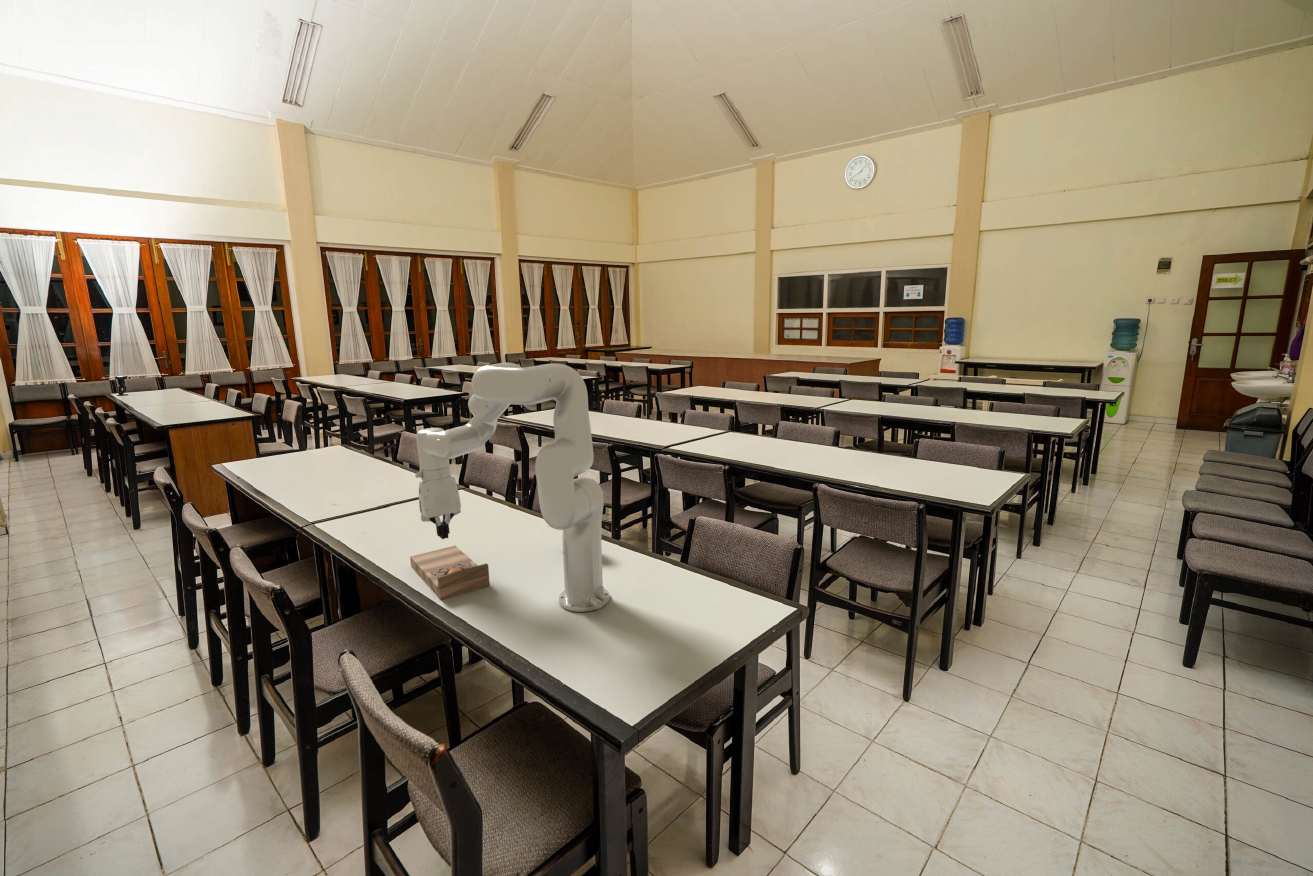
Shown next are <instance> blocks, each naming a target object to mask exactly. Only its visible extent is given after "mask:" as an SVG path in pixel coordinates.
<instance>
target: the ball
mask: <svg viewBox="0 0 1313 876" xmlns="http://www.w3.org/2000/svg"><path fill="white" fill-rule="evenodd" d="M460 570H462V569H460V568H453V569H451V570H450V571H449V572H448V574H449V573H453V572H456V571H460Z"/></svg>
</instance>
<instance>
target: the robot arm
mask: <svg viewBox="0 0 1313 876" xmlns="http://www.w3.org/2000/svg"><path fill="white" fill-rule="evenodd" d="M471 389H472V392H473V394H472V395H471V396H470V397H469V399H468V402H467V406H468V410H469V411H470V413H471V414H472V415H473V417H472V418H471V419H470V420H469V421H468V422H467V423H466V424H464V425H462V426H457V427H453V428H450V429H446V430H444V429H443V428H442V427H429V428H428V427H427V428H423V429H420V430H418V431H417V433H416V436H415V437H416V446H417V447H416V448H417V454H418V462H419V470H418V471H419V472H415V474H414V475H415V479H418V478H419V479H420V480H419V482H418V504H419V508H418V509H419V512H420V520H421V522H424V523H425V522H428V523H429V522H431V523H433V524H434V525H435V529H436V535H437V537H439V538H440V539H441V540H445V539H449V534H450V525H449V524H450V523H451V520H452V519H453V517H454V516H457V515H458V514H460V513H462V512H461V509H462V504H461V503H462V502H461V498H460V497H461V496H460V493H459V488H458V485H457V481H456V478H455V476H454V475H451V474H452V473H451V466H450V460H451V459H454V458H455V459H456V458H459V457H460V456H463V455H467V454H471V453H473V452H475V451H478V450H479V449H481V448H482V447H483V446H484V445H485V444H486V442H487V441H489V439H490V438H491V437H492V436H493V435H494V434H495V432H496V430H497V426H498V419H499V418H500V416H502V415H503V414H504V412H505V411H506V410H507V409H508V408H509V407H510V406H511V405H517V406H518V405H519V406H529V405H537V404H540V403H544V402H547V401H552V400H553V401H555V402H556V403H555V407H554V411H553V415H552V416H553V418H552V420H553V422H552V423H553V428H554V440H553V441H551V442H549V443H546V444H545V445H544V446H542V447H541V448H540V449H539V451H538V453H537V455H536V458H535V465H534V469H535V470H534V471H535V478H536V486H537V494H538V500H539V502H538V503H539V508H540V513H541V515H542V518H543V520H544V521H545V523H546V524H547V525H548V526H549V527H550V528H552V529H553V530H554V529H555V530H557V531H562V536H561V537H562V557H563V558H562V561H563V577H564V578H563V579H564V580H563V581H564V590H563V591H562V592H561V593H560V594H559V596H558V603H559V605H560V606H561V608H564V609H565V610H567V611H570V612H575V613H576V612H578V613H579V612H580V613H581V612H583V613H584V612H592V611H595V610H600V609H601V608H603V607H604V606H606V605H607V604H608V603H609V601H610V592H609V591H608V589H606V588H604V584H603V582H604V581H603V553H602V549H603V548H602V519H603V511H604V510H603V509H604V502H605V501H604V499H605V497H604V493H603V488H602V487H601V485H600V484H599V483H598V482H597V481H596V480H595V479H593V478H590V477H588V476H587V477H585V476H584V477H578V476H580V475H581V474H583V473H585V472H586V471H588V470H590V468H592V465H593V463H594V459H595V458H594V457H595V456H594V445H593V437H592V427H591V421H590V415H589V414H590V413H589V396H588V395H589V394H588V389H587V385H586V383H585V381H584V379H583V377H582V376H581V375H580V373H579V372H578V371H576V369H574V368H573V367H571V366H569V365H567V364H562V363H546V364H545V363H544V364H539V365H534V366H528V367H522V366H520V365H519V364H516V363H515V362H499V363H491V364H487V365H483V366H481V367H479V368H478V369H477V370H476V371H475V372H474V374H473V376H472V378H471ZM575 477H578V478H575ZM441 516H442V518H440V517H441ZM441 519H442V520H441Z"/></svg>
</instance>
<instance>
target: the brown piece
mask: <svg viewBox="0 0 1313 876" xmlns="http://www.w3.org/2000/svg"><path fill="white" fill-rule="evenodd" d="M409 558H410V566H411V568H412V569H413V571H415V572H416V574H417V576H419V577H420V578H421V579H422V581H423V582H424V583H425V584H426V585H427V586H428V587H429V589H430V590H431V591H433V593H434V595H435V596H436V597H437V598H438V599H439V600H440V601H442V600H445V599H449V598H452V597H455V596H459V595H462V594H465V593H469V592H473V591H476V590H479V589H483V588H486V587H489V586H491V584H490V571H489V564H488V563H483V564H479V565H478V564H477V563H476V562H475V561H473V560H472V559H471V558H470V557H469V556H468V555H467V554H465V553H464V552H463V551H462V550H461V549H460V548H459V547H458V546H456V545H453V546H447V547H445V548H440V549H436V550H432V551H427V552H423V553H419V554H416V555H411V556H409ZM453 568H460V569H462V570H460V571H456V572H453V573H449V574H448V572H449V571H450V570H451V569H453Z"/></svg>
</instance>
